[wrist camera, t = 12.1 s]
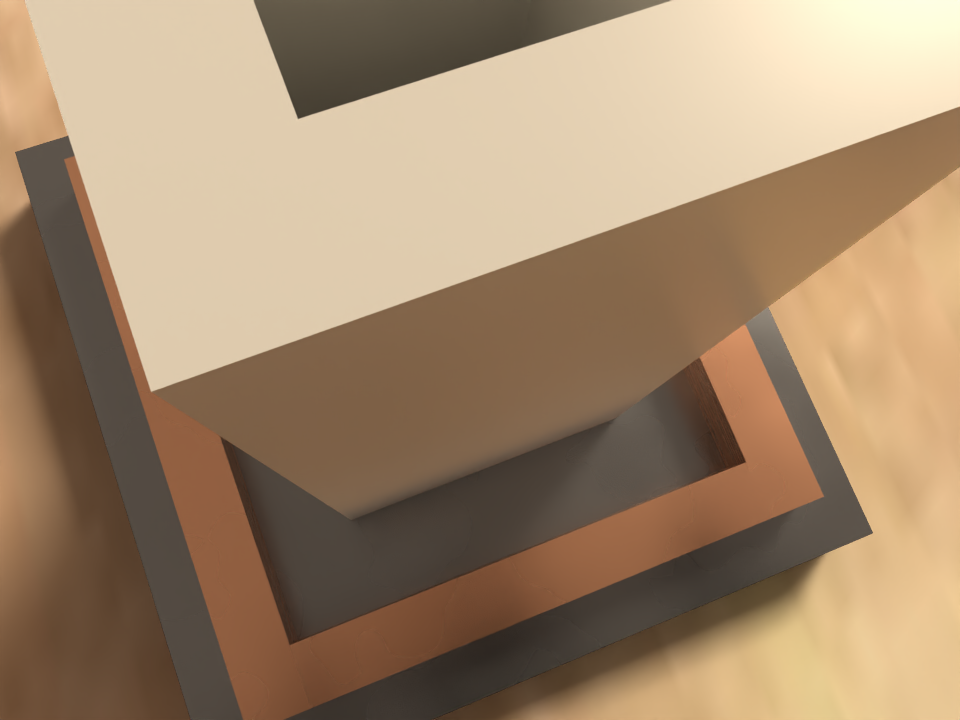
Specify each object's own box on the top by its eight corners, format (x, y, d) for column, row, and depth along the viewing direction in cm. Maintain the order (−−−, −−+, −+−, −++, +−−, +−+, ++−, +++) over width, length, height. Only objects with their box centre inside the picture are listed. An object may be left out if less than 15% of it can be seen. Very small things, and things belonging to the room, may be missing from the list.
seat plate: (835, 535, 18) (973, 526, 13) (237, 787, 16) (168, 872, 12) (597, 12, 20) (647, -145, 15) (47, 185, 18) (-71, 64, 14)
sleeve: (615, 418, 16) (1118, 50, 5) (351, 520, 16) (152, 390, 4) (512, 173, 17) (714, -655, 5) (258, 259, 16) (-132, -479, 5)
